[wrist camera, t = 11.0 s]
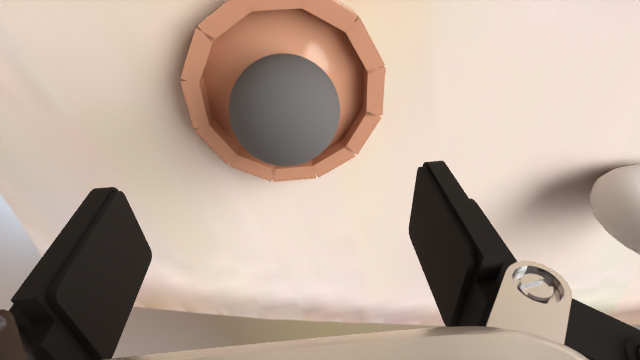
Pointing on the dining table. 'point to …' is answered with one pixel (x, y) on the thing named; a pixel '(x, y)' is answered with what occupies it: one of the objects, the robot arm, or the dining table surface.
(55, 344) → the robot arm
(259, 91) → the ball
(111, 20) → the dining table surface
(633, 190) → the donut
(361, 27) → the bowl
